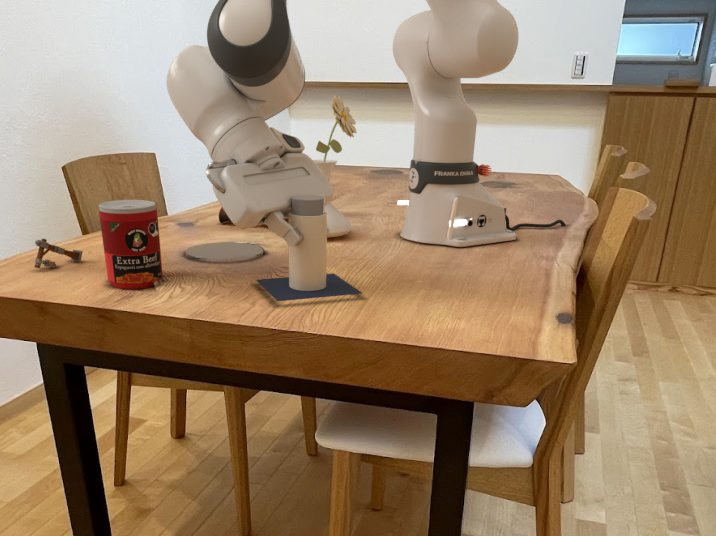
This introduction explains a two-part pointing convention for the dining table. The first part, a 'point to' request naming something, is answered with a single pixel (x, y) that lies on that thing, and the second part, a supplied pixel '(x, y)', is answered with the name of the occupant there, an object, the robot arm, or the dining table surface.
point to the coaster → (223, 250)
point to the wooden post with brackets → (42, 244)
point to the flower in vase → (334, 218)
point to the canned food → (131, 243)
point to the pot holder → (284, 292)
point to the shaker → (308, 243)
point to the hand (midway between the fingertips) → (311, 239)
